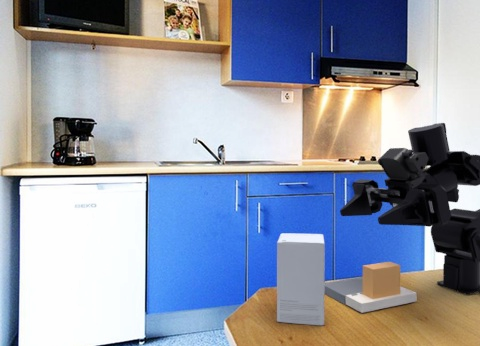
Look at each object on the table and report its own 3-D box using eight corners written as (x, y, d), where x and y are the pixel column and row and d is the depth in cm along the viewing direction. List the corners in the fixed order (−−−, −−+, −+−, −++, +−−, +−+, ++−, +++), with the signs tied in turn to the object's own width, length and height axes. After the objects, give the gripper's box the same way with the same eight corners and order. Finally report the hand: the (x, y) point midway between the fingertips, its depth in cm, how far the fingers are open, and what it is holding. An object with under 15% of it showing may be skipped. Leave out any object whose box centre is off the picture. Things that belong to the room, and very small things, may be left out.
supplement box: (325, 326, 56) (325, 243, 56) (275, 322, 58) (275, 241, 57) (324, 307, 63) (324, 233, 63) (280, 304, 65) (279, 231, 64)
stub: (398, 293, 69) (398, 258, 69) (416, 301, 65) (416, 264, 65) (345, 304, 64) (345, 266, 64) (361, 312, 61) (361, 273, 60)
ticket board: (370, 282, 76) (370, 275, 76) (397, 294, 69) (397, 286, 69) (320, 291, 71) (320, 283, 71) (344, 304, 64) (344, 295, 64)
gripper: (377, 145, 75) (314, 169, 69) (465, 141, 58) (391, 172, 52) (389, 197, 77) (328, 225, 71) (478, 208, 59) (407, 246, 54)
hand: (358, 217), depth 62 cm, fingers open, 9 cm apart
